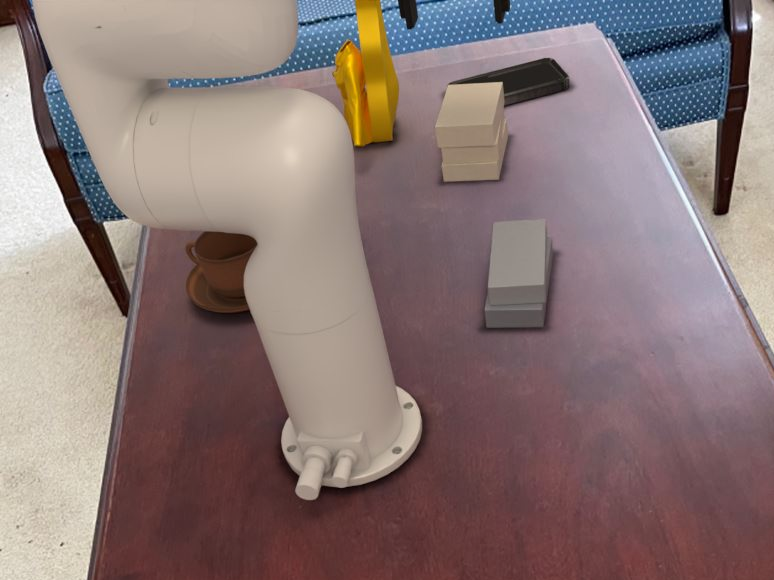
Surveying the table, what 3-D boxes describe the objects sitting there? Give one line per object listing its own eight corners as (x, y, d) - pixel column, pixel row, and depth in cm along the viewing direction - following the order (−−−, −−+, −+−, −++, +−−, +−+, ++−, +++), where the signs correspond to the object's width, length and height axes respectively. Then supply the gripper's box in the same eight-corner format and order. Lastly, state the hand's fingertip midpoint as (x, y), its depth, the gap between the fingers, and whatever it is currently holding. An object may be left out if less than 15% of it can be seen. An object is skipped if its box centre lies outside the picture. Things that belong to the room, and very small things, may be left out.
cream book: (494, 145, 107) (492, 124, 105) (437, 148, 108) (434, 126, 106) (504, 102, 113) (502, 81, 111) (450, 105, 114) (448, 84, 112)
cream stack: (501, 179, 110) (497, 144, 107) (441, 182, 111) (436, 147, 108) (510, 134, 117) (507, 100, 113) (454, 137, 118) (449, 103, 115)
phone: (571, 79, 122) (461, 107, 120) (572, 88, 122) (462, 116, 121) (551, 55, 127) (445, 82, 125) (551, 64, 128) (446, 90, 126)
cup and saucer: (180, 327, 98) (158, 279, 94) (204, 260, 106) (186, 212, 102) (291, 318, 97) (275, 269, 92) (308, 250, 105) (293, 202, 100)
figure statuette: (346, 107, 127) (306, -72, 111) (403, 98, 127) (371, -83, 111) (346, 174, 115) (301, -15, 99) (410, 164, 115) (375, -27, 99)
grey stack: (546, 327, 91) (543, 290, 88) (483, 328, 92) (478, 291, 89) (555, 254, 99) (553, 217, 95) (497, 255, 100) (493, 219, 97)
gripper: (336, -146, 88) (371, 41, 100) (520, -164, 85) (533, 31, 97) (354, -168, 93) (385, 13, 105) (528, -186, 90) (539, 2, 102)
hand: (456, 21), depth 101 cm, fingers open, 9 cm apart
